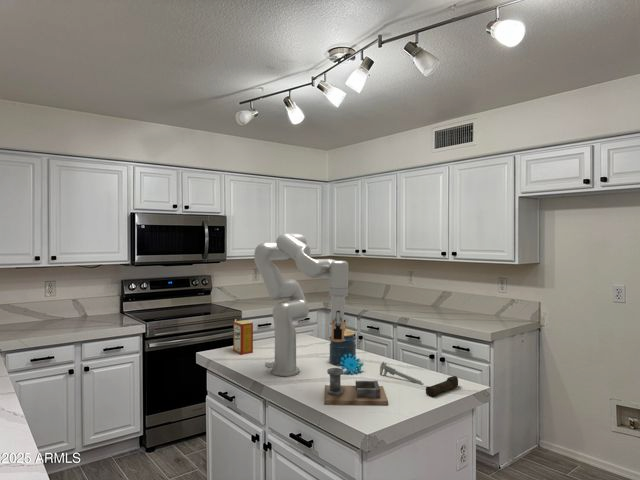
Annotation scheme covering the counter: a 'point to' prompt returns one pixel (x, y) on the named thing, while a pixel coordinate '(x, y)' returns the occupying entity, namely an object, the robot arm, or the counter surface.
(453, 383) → the hand tool
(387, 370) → the caliper
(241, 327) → the baking soda box
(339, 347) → the canister
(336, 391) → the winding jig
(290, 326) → the robot arm
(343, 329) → the tan oval solid
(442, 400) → the counter surface
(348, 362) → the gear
